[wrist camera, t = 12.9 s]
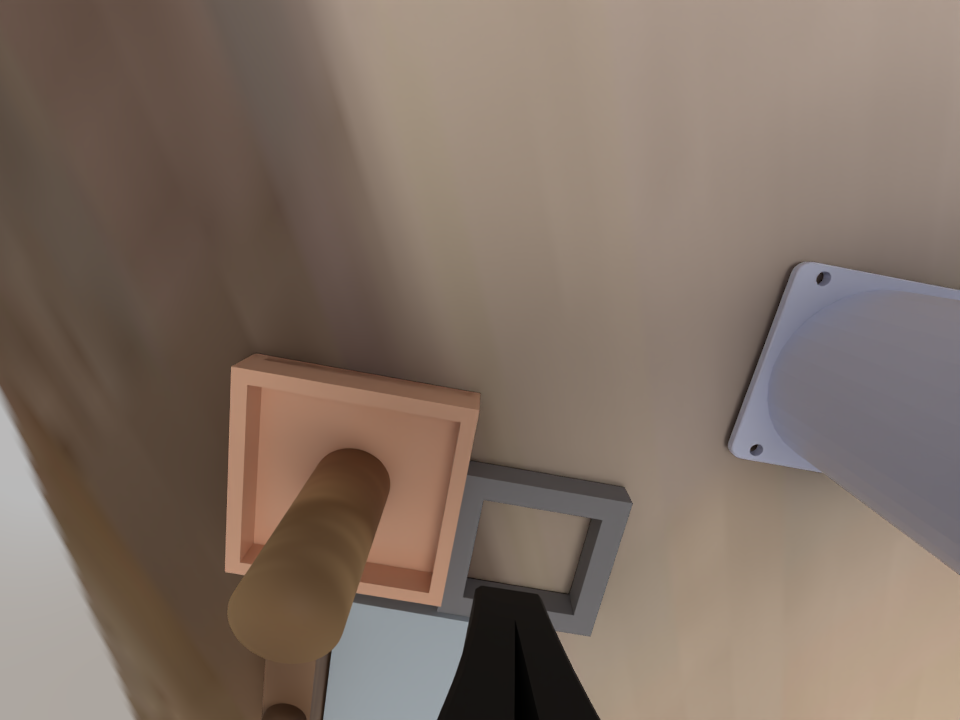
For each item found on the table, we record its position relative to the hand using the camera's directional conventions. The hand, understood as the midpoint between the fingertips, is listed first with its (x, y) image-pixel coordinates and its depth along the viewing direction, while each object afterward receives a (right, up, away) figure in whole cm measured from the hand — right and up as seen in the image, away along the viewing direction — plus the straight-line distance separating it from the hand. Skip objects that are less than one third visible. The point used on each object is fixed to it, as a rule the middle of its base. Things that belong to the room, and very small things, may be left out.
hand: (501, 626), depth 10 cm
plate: (-3, -9, +14) cm, 17 cm away
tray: (-6, +1, +10) cm, 12 cm away
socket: (+2, -3, +11) cm, 11 cm away
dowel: (-6, +1, +10) cm, 11 cm away
